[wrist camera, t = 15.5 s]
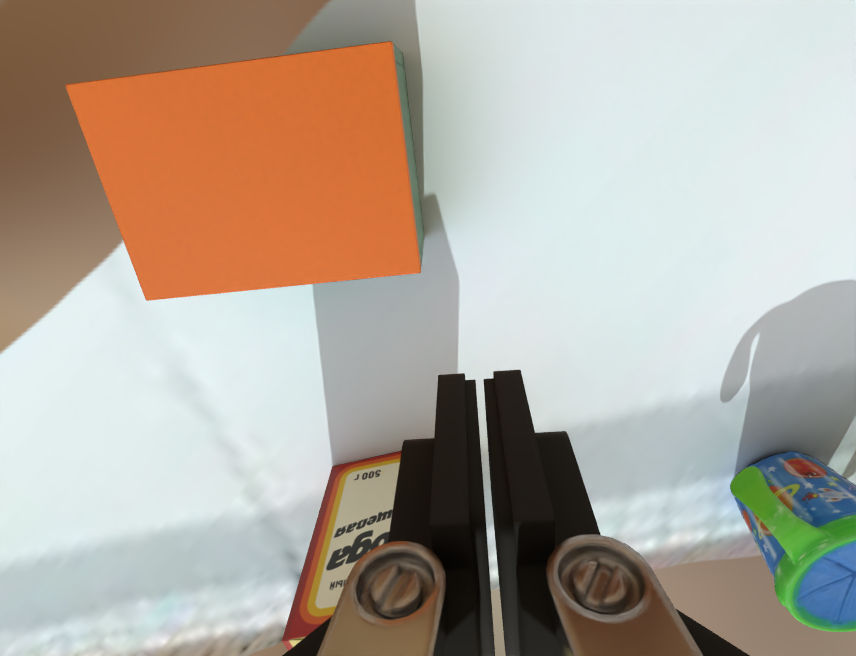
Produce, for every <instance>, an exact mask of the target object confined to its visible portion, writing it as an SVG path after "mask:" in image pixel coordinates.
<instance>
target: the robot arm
mask: <svg viewBox="0 0 856 656" xmlns="http://www.w3.org/2000/svg"><path fill="white" fill-rule="evenodd" d="M484 392H485V407H486V422H487V437H488V452H489V467H490V481H491V495H492V506H493V517H494V529H495V540H496V551H497V563H498V574H499V585H500V597H501V608H502V619H503V631H504V642H505V653H506V656H749V655H748V654H746V653H745V652H743V651H741V650H740V649H738V648H737V647H735V646H734V645H732V644H731V643H729V642H727V641H726V640H724V639H723V638H721V637H719V636H718V635H716V634H715V633H713V632H712V631H710V630H708V629H707V628H705V627H704V626H702V625H701V624H699V623H697V622H696V621H694V620H693V619H691V618H690V617H688V616H686V615H685V614H683V613H681V612H680V611H678V610H677V609H675V607H674V606H673V604H672V602H671V601H670V599H669V597H668V596H667V594H666V592H665V591H664V589H663V587H662V586H661V584H660V582H659V580H658V579H657V577H656V575H655V574H654V572H653V570H652V569H651V567H650V566H649V565H648V563H647V562H646V561H645V560H644V558H643V557H642V556H641V555H640V554H639V553H638V552H636V551H635V550H634V549H632V548H631V547H630V546H628V545H627V544H625V543H622V542H620V541H618V540H616V539H614V538H611V537H606V536H601V535H600V532H599V529H598V526H597V522H596V519H595V516H594V513H593V510H592V507H591V504H590V501H589V498H588V495H587V492H586V489H585V486H584V483H583V479H582V476H581V473H580V470H579V467H578V464H577V461H576V458H575V455H574V452H573V449H572V446H571V443H570V439H569V437H568V434H567V433H566V432H565V431H562V432H543V433H535V431H534V427H533V423H532V418H531V414H530V410H529V405H528V401H527V397H526V392H525V388H524V384H523V379H522V375H521V371H520V370H509V371H494V378H493V379H484ZM283 656H495V647H494V634H493V619H492V604H491V590H490V575H489V561H488V547H487V532H486V518H485V504H484V489H483V476H482V463H481V449H480V436H479V422H478V409H477V396H476V382H475V380H465V374H464V373H463V374H448V375H438V389H437V405H436V422H435V438H431V439H412V440H404V442H403V445H402V451H401V458H400V464H399V471H398V478H397V484H396V491H395V498H394V504H393V511H392V518H391V524H390V531H389V538H388V543H387V544H383V545H380V546H377V547H376V548H374V549H372V550H371V551H369V552H367V553H366V554H365V555H364V556H363V557H362V558H361V559H360V560H359V561H357V562H356V563H355V565H354V567H353V568H352V570H351V572H350V574H349V575H348V577H347V580H346V582H345V585H344V587H343V590H342V593H341V595H340V598H339V600H338V603H337V605H336V608H335V611H334V613H333V615H332V616H331V617H330V618H329V619H327V620H326V621H325V622H324V623H322V624H321V625H320V626H319V627H317V628H316V629H315V630H314V631H312V632H311V633H310V634H309V635H307V636H306V637H305V638H304V639H302V640H301V641H300V642H299V643H297V644H296V645H295V646H294V647H293V648H291V649H290V650H289V651H288V652H286V653H285V654H284V655H283Z"/></svg>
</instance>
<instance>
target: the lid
mask: <svg viewBox="0 0 856 656" xmlns="http://www.w3.org/2000/svg"><path fill="white" fill-rule="evenodd" d="M66 88H67V91H68V94H69V96H70V99H71V102H72V104H73V107H74V110H75V112H76V115H77V117H78V120H79V123H80V125H81V128H82V131H83V134H84V136H85V139H86V141H87V144H88V147H89V150H90V152H91V155H92V157H93V160H94V163H95V166H96V168H97V171H98V174H99V176H100V179H101V182H102V184H103V187H104V190H105V192H106V195H107V198H108V200H109V203H110V205H111V208H112V211H113V213H114V216H115V219H116V222H117V224H118V227H119V230H120V232H121V235H122V237H123V240H124V243H125V246H126V248H127V251H128V254H129V256H130V259H131V262H132V264H133V267H134V270H135V272H136V275H137V278H138V280H139V283H140V286H141V288H142V291H143V294H144V296H145V299H146V300H157V299H167V298H177V297H187V296H197V295H207V294H217V293H227V292H236V291H246V290H256V289H266V288H276V287H286V286H296V285H306V284H316V283H326V282H335V281H345V280H355V279H365V278H375V277H385V276H395V275H405V274H415V273H421V262H420V254H419V246H418V238H417V230H416V222H415V214H414V206H413V198H412V190H411V182H410V174H409V166H408V158H407V150H406V142H405V134H404V126H403V118H402V110H401V102H400V94H399V86H398V78H397V70H396V62H395V54H394V46H393V43H392V42H391V41H388V42H380V43H373V44H365V45H358V46H350V47H343V48H335V49H328V50H320V51H313V52H305V53H298V54H291V55H283V56H276V57H269V58H261V59H253V60H246V61H239V62H231V63H224V64H216V65H208V66H201V67H194V68H186V69H178V70H171V71H164V72H156V73H148V74H141V75H133V76H126V77H118V78H111V79H104V80H96V81H89V82H81V83H74V84H67V85H66Z"/></svg>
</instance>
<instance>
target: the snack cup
mask: <svg viewBox="0 0 856 656" xmlns="http://www.w3.org/2000/svg"><path fill="white" fill-rule="evenodd" d="M730 489H731V492H732V494H733V495H734V496H735V500H736V502H737V505H738V507H739V510H740V511H741V514H742V516H743V518H744V520H745V522H746V524H747V526H748V528H749V530H750V532H751V533H752V535H753V537H754V540H755V542H756V544H757V546H758V548H759V550H760V552H761V554H762V556H763V558H764V559H765V561H766V563H767V565H768V567H769V569H770V571H771V573H772V574H773V576H774V581H775V591H776V595H777V597H778V599H779V601H780V603H781V604H782V605H784V606H785V607H786V608H787V609H788V611H789V612H790V613H791V614H792V615H793V616H794V617H795V618H796V619H797V620H798V621H800V622H801V623H803V624H805V625H807V626H809V627H812V628H815V629H819V630H824V631H834V632H848V631H856V485H854V484H853V483H851V482H850V481H848V480H847V479H845V478H844V477H842V476H840V475H839V474H837V473H836V472H835V471H834V470H833V469H831V468H830V467H828V466H826V465H825V464H823V463H822V462H820V461H818V460H817V459H815V458H813V457H810V456H807V455H804V454H801V453H799V452H793V451H788V452H787V453H783V454H777V455H774V456H771V457H768V458H766V459H764V460H761V461H760V462H758V463H756V464H754V465H749V466H748V467H747V468H745V469H743V470H742V471H741V472H740V473H739V474H737V475H736V476H735V478H734V479H733V480H732V482H731V484H730Z"/></svg>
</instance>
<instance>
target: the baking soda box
mask: <svg viewBox="0 0 856 656" xmlns="http://www.w3.org/2000/svg"><path fill="white" fill-rule="evenodd" d="M400 458H401V451H400V452H395V453H390V454H386V455H381V456H377V457H372V458H368V459H363V460H359V461H354V462H349V463H345V464H340V465H336V466H332V470H331V473H330V477H329V480H328V484H327V487H326V491H325V494H324V497H323V501H322V504H321V508H320V511H319V515H318V518H317V522H316V525H315V529H314V532H313V535H312V539H311V542H310V546H309V549H308V553H307V556H306V560H305V563H304V567H303V570H302V573H301V577H300V580H299V584H298V587H297V591H296V594H295V598H294V601H293V605H292V608H291V611H290V615H289V618H288V622H287V625H286V629H285V632H284V636H283V639H282V642H283V643H284V645H285V646H286V648H287V649H288V651H289V650H290V649H291V648H293V647H294V646H295V645H296V644H297V643H299V642H300V641H301V640H302V639H304V638H305V637H306V636H307V635H309V634H310V633H311V632H312V631H314V630H315V629H316V628H317V627H319V626H320V625H321V624H322V623H324V622H325V621H326V620H327V619H329V618H330V617H331V616H332V615H333V613H334V611H335V608H336V605H337V603H338V600H339V598H340V595H341V593H342V590H343V587H344V585H345V582H346V580H347V577H348V575H349V574H350V572H351V570H352V568H353V567H354V565H355V563H356V562H357V561H359V560H360V559H361V558H362V557H363V556H364V555H365V554H366V553H367V552H369V551H371V550H372V549H374V548H376V547H377V546H380V545H383V544H387V543H388V538H389V531H390V524H391V518H392V511H393V504H394V498H395V491H396V484H397V478H398V471H399V464H400Z"/></svg>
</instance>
